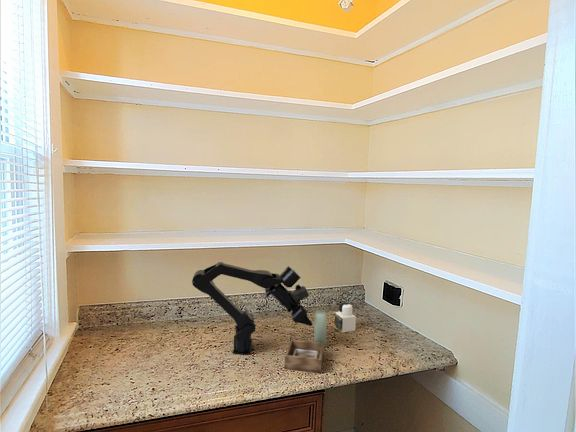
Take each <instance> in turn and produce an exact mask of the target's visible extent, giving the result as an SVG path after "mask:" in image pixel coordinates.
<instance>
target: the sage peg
mask: <svg viewBox="0 0 576 432" xmlns="http://www.w3.org/2000/svg"><path fill="white" fill-rule="evenodd" d="M327 319H328V313H327V311H324V310H316V311H314V323H313V324H314V325H313V326H314V327H313V328H314V329H313V342H318V343H324V349H325V348H326V347H327V329H328V328H327V326H328V324H327V323H328V320H327Z"/></svg>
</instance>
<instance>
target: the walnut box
mask: <svg viewBox="0 0 576 432" xmlns="http://www.w3.org/2000/svg"><path fill="white" fill-rule="evenodd" d="M324 349H325V348H324V343H318V342H314V341H306V340H295V339H291V340H290V341H289V343H288V346H287V350H286V352H285V354H284V370H288V371H289V370H290V371H297V372H307V373H315V374H316V373H317V374H321V373H322V368H323V367H322V366H323V361H324V360H323V359H324V352H325V351H324Z"/></svg>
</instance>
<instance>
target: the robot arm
mask: <svg viewBox="0 0 576 432" xmlns="http://www.w3.org/2000/svg"><path fill="white" fill-rule="evenodd" d="M221 275H222V276H227V277H230V278H231V277H232V278H235V279H239V280H244V281H248V282H251V283H252V284H254V285H256V286H257V287H259V288H262V289H264V291H265V292H264V294H265V297H266V298H268V297H270V295H271V296H272V297H274V298H275V300H277V302H279V304H280V306H282V307H284V308H285V309H286V311H287V312H288V313H290V318H291V319H292V321H293V322H294V323H295V324H302V325H306V326H310V327H312V325H313V324H314V323H312V321H311V320H310V318H309V316H308V310H307V309H306V308H305V306H303V304H301V300H303V299H304V300H305V299H306V298H309V297H310V294H309V292H308V289H307V288H306V287H305V286H304V285H300V284H296V283H297V282H298V281H299V280H300V279H301V278H302V277H301V276H300V275H299V274H298V273H297V272H296V271H295V270H294V269H292V268H291V267H290V266H287V267H286V268H285V269H284V270H283V271H282V272H281V274H279V273H272V272H271V271H268V270H263V269H257V270H255V269H249V268H244V267H241V266H235V265H232V264H228V263H224V262H222V261H218V262H216V263H215V264H213V265H211V266H208V267H207V268H204V269H200V270H197V271H195V272H194V275H193V276H192V280H191V284H192V286H193V287H194V288H195V289H197V290H198V291H199V292H201V293H203V294H206V295H208V296H209V297H210V298H211V299H212V300H213V301H214V302H215V303H216V304H217V305H218V306H219V307H221V308H222V310H224V311H225V312H226V313H227V314H228V316H230V317H231V319H233V321H234V322H235V326H234V330H235V331H234V333H235V334H234V336H233V350H232V354H236V355H245V356H248V355H249V354H250V352H251V351H252V350H253V338H252V334H253V333H254V332H255V331H256V324H255V323H256V322H255V318H254V314H252V313H250V312H249V310H248V309H247V308H246V309H245V310H242V309H240V308H239V307H238V306H237V305H236V304H235V303H234V302H233V301H232V300H231V299H229V297H228V296H226V294H225V293H224V292H222V290H221V289H220V288H218V286H216V284H215V282H214V280H215V279H216V278H217V277H219V276H221ZM295 284H296V285H295ZM294 285H295V289H294V290H293V291H291V290H288V288H292V287H293V286H294ZM313 326H314V325H313Z"/></svg>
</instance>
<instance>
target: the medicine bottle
mask: <svg viewBox="0 0 576 432" xmlns="http://www.w3.org/2000/svg"><path fill="white" fill-rule="evenodd" d="M356 319H357V317H356V315H355V314H353V305H352V304H351V303H350V302H340V303H339V305H338V311H335V313H334V328H336V329H337V330H338V331H339V333H349V332H355V331H356V321H357V320H356Z"/></svg>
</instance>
